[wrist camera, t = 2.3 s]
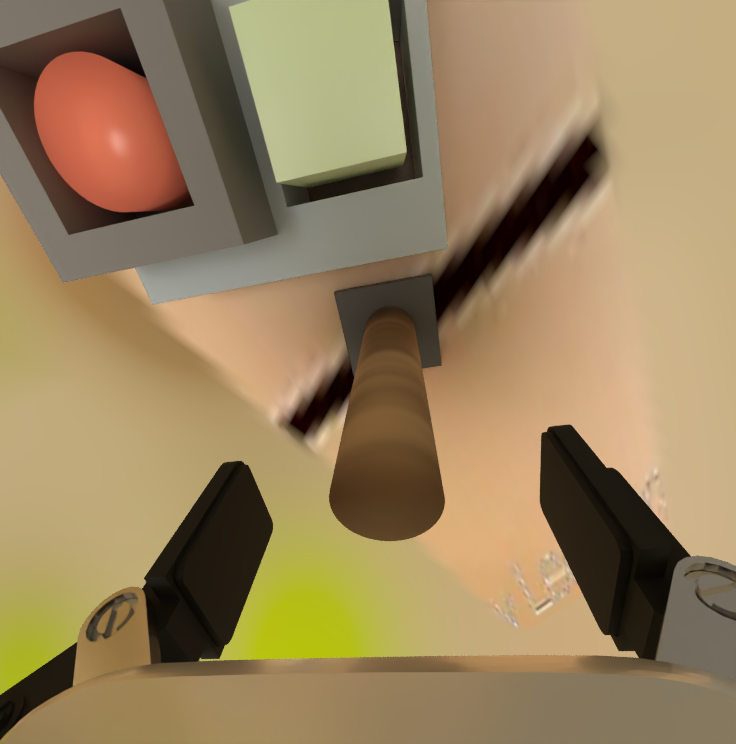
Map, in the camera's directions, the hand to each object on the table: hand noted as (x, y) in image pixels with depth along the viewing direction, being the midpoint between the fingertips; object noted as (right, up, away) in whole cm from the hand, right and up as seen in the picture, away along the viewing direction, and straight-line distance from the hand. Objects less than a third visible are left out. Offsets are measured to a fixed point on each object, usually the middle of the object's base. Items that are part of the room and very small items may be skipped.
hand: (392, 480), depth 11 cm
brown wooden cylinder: (+1, +6, +11) cm, 13 cm away
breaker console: (-5, +15, +7) cm, 18 cm away
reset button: (-9, +13, +5) cm, 17 cm away
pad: (+1, +6, +12) cm, 13 cm away
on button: (-2, +15, +4) cm, 15 cm away
